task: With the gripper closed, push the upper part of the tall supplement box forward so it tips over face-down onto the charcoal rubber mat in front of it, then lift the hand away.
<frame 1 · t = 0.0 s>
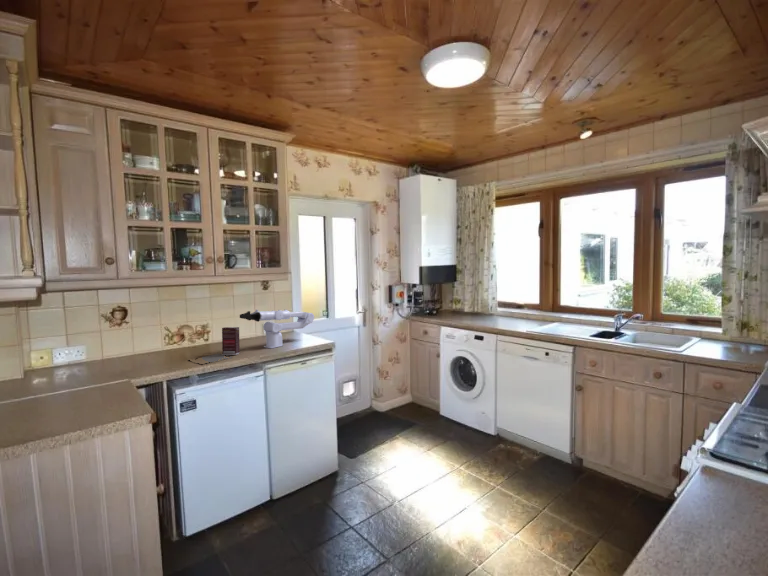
hand: (243, 316, 228), 22 cm above the countertop, tool horizontal, fingers open, 7 cm apart
supplement box: (231, 354, 226), on the countertop, touching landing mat
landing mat: (210, 359, 216), on the countertop
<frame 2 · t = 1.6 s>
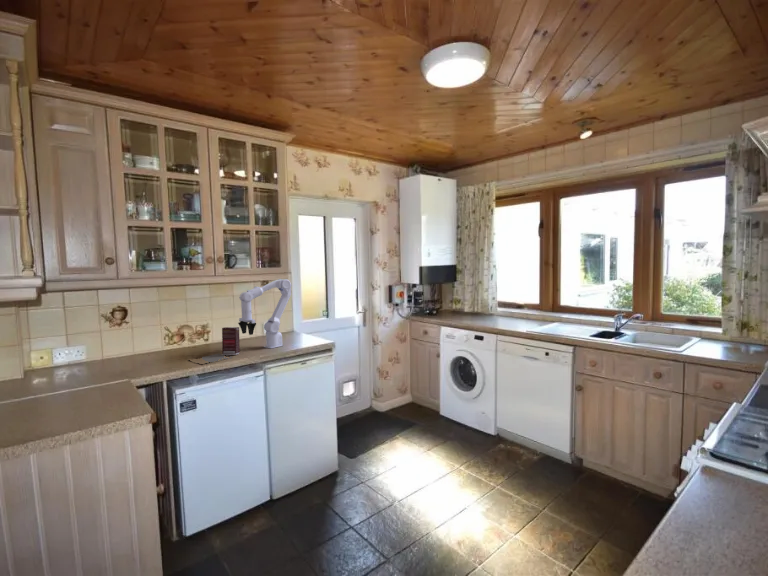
hand: (247, 334, 234), 10 cm above the countertop, tool pointing down, fingers open, 7 cm apart
nothing on the countertop moved.
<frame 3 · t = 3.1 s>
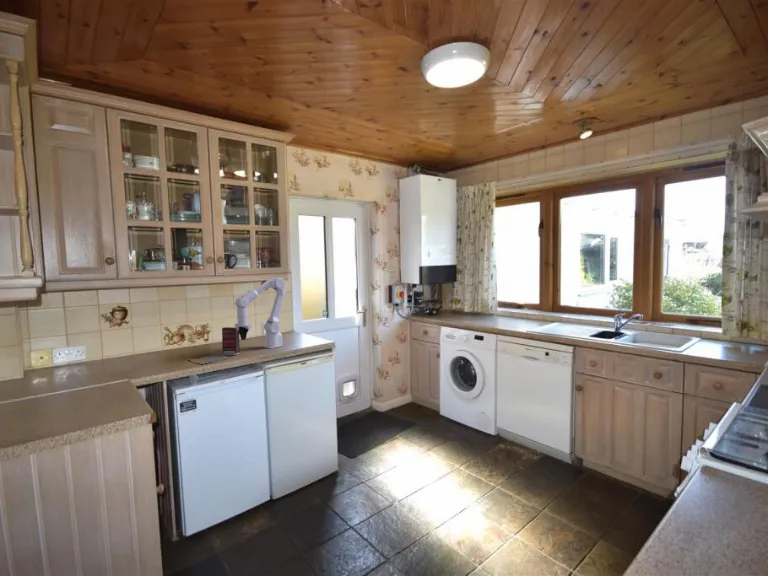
hand: (243, 339, 232), 7 cm above the countertop, tool pointing down, fingers closed
nothing on the countertop moved.
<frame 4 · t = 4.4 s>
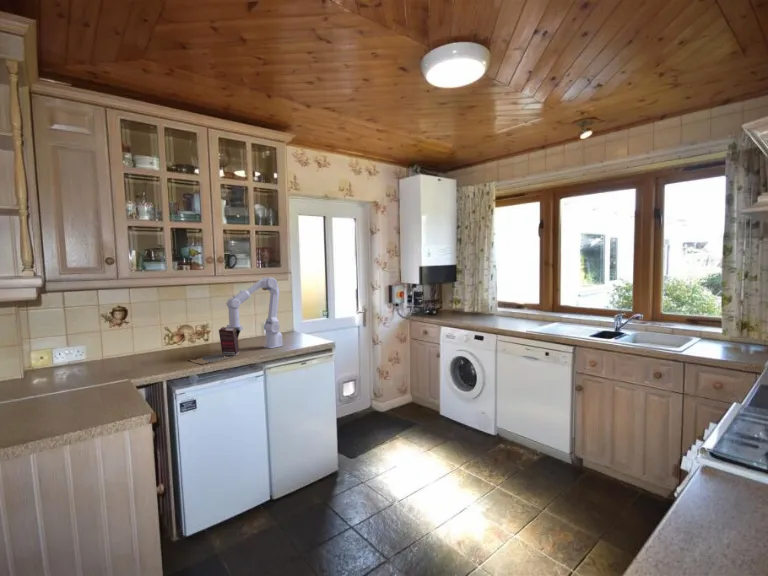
hand: (235, 341, 228), 7 cm above the countertop, tool pointing down, fingers closed
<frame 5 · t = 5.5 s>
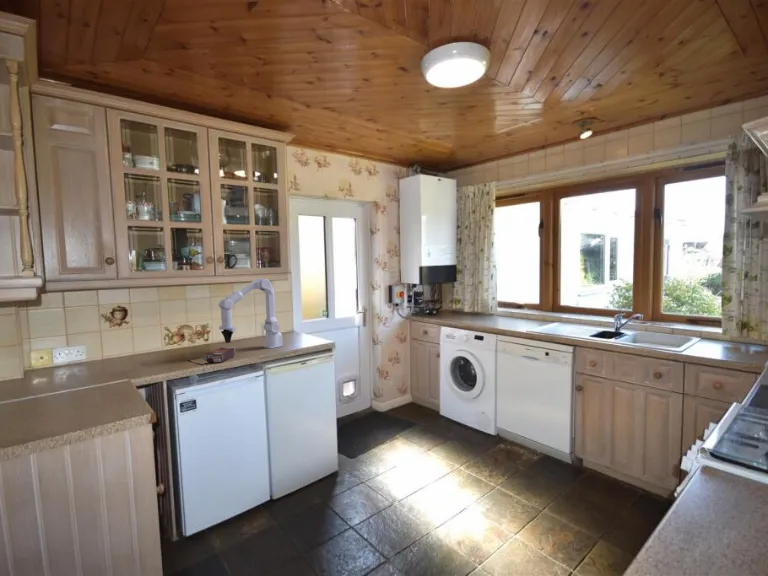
hand: (228, 342, 224), 7 cm above the countertop, tool pointing down, fingers closed
supplement box: (228, 350, 223), point 3 cm above the countertop, touching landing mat
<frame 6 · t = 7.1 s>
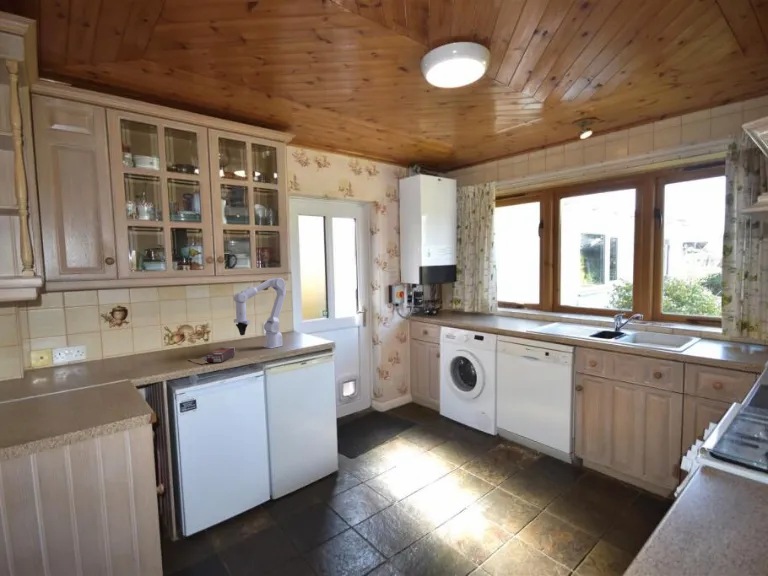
hand: (242, 335, 231), 10 cm above the countertop, tool pointing down, fingers closed
nothing on the countertop moved.
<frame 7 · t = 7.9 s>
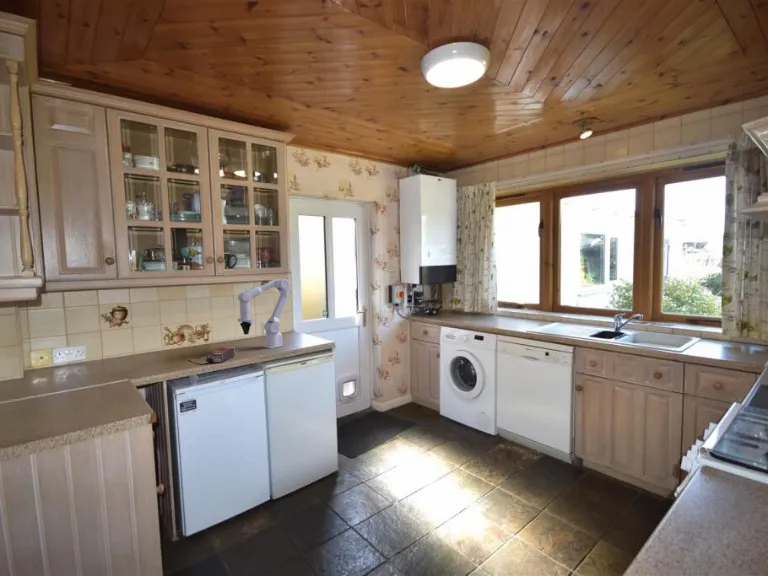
hand: (246, 334, 233), 10 cm above the countertop, tool pointing down, fingers closed
nothing on the countertop moved.
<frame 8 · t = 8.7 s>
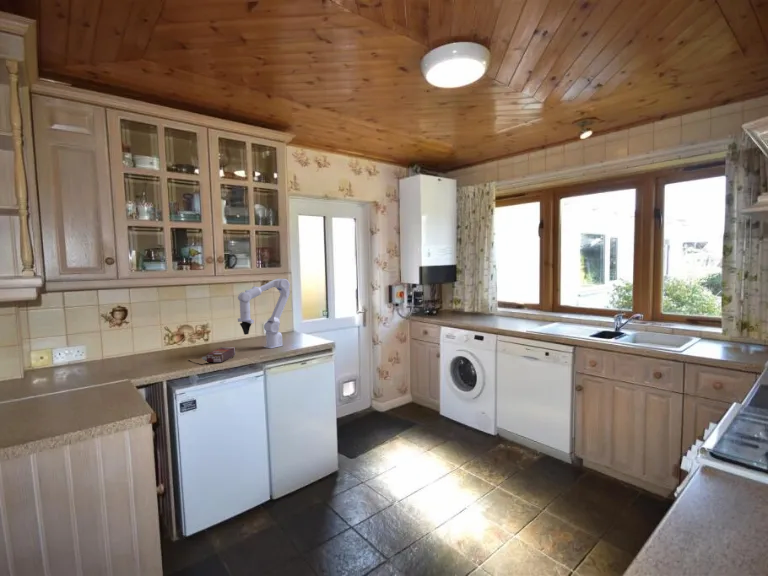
hand: (246, 334, 233), 10 cm above the countertop, tool pointing down, fingers closed
nothing on the countertop moved.
at the end: supplement box tilted 91°; supplement box touching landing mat; supplement box inside the target area (2.6 cm from its centre), point 2.8 cm above the countertop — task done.
